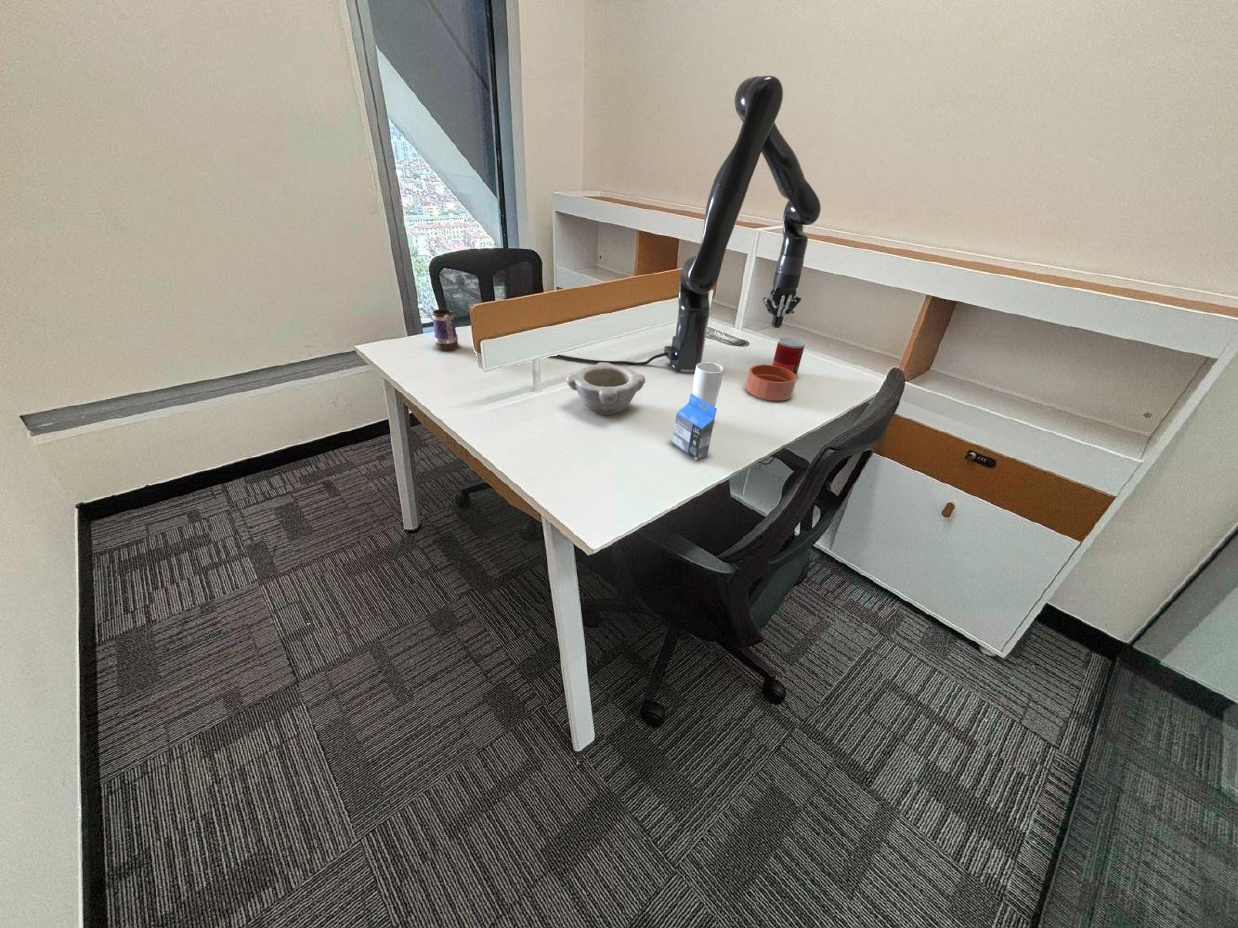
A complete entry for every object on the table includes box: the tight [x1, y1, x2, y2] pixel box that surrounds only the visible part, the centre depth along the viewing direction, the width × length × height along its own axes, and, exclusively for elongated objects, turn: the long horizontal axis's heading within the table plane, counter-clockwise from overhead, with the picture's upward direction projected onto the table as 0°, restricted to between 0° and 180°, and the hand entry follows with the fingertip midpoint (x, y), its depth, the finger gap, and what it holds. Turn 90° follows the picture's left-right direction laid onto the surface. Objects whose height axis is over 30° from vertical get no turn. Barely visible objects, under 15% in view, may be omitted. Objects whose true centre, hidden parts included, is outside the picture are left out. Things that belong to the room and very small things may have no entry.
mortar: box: [565, 362, 646, 416], centre depth 130 cm, size 17×17×9 cm
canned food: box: [772, 337, 806, 376], centre depth 156 cm, size 8×8×11 cm
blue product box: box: [671, 393, 718, 461], centre depth 113 cm, size 9×4×12 cm, turn 35°
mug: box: [431, 308, 459, 352], centre depth 156 cm, size 10×7×12 cm
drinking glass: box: [692, 361, 724, 410], centre depth 124 cm, size 7×7×15 cm
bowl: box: [745, 363, 798, 402], centre depth 145 cm, size 13×13×6 cm
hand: (775, 327), depth 159 cm, fingers closed
